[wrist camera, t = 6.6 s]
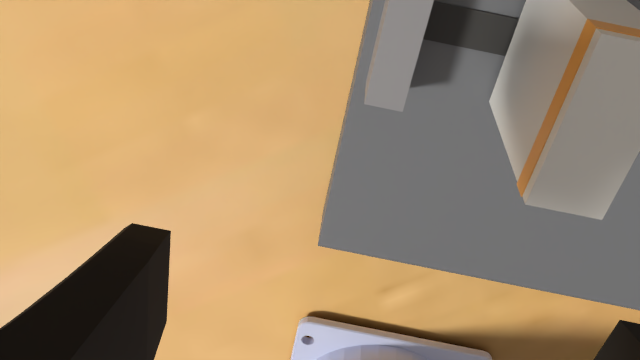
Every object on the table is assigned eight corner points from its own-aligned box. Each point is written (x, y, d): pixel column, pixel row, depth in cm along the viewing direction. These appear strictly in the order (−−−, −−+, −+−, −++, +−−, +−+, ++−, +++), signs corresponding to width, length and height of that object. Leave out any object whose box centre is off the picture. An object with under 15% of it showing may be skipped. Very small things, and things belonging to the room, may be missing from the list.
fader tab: (546, 113, 16) (602, 220, 12) (488, 102, 16) (524, 204, 12) (603, -20, 14) (694, 51, 10) (537, -34, 14) (600, 32, 10)
